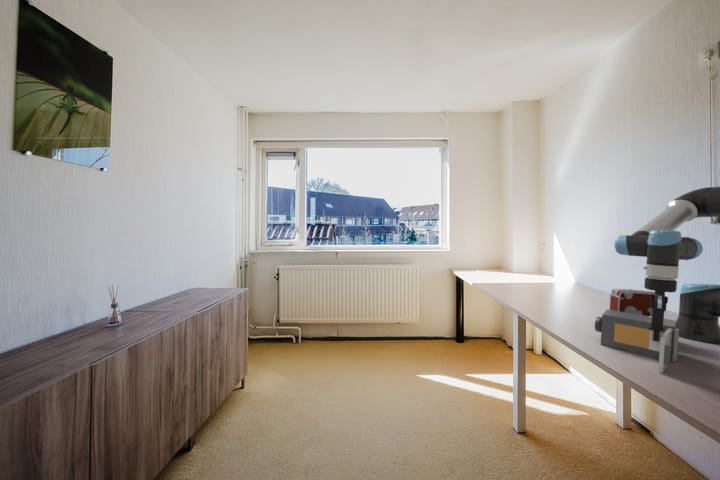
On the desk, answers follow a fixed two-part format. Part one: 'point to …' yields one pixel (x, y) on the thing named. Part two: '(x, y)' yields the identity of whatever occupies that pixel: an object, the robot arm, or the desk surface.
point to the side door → (665, 349)
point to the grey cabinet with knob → (632, 332)
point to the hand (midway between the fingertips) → (654, 349)
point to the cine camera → (631, 301)
